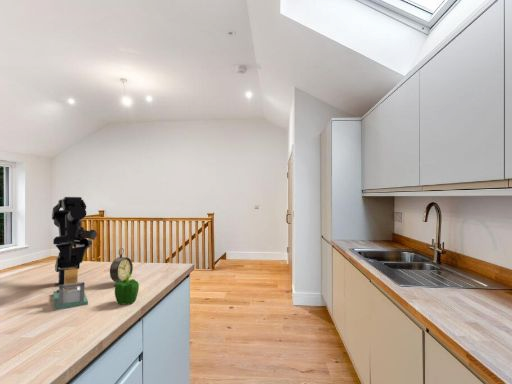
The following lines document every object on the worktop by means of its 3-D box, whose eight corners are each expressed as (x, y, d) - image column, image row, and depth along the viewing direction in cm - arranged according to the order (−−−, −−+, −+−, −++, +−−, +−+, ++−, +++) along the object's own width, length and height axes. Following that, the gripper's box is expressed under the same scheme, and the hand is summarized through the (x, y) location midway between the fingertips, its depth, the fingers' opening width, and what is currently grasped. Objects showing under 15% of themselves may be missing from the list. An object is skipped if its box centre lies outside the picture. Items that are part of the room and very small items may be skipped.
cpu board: (53, 294, 116) (54, 274, 116) (82, 290, 122) (83, 271, 122) (54, 310, 100) (55, 286, 100) (87, 304, 105) (88, 282, 106)
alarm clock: (117, 287, 126) (118, 250, 126) (106, 286, 127) (107, 249, 127) (133, 281, 136) (134, 246, 137) (123, 280, 138) (123, 245, 138)
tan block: (63, 296, 109) (64, 268, 109) (76, 294, 111) (77, 267, 112) (65, 305, 101) (66, 274, 101) (78, 302, 103) (79, 273, 103)
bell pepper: (127, 308, 103) (128, 279, 103) (109, 305, 105) (110, 277, 106) (143, 300, 111) (144, 274, 111) (126, 297, 113) (127, 272, 114)
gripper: (82, 218, 115) (83, 258, 111) (103, 225, 133) (104, 259, 129) (52, 223, 113) (52, 263, 110) (77, 229, 131) (78, 264, 128)
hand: (74, 262), depth 119 cm, fingers open, 9 cm apart
